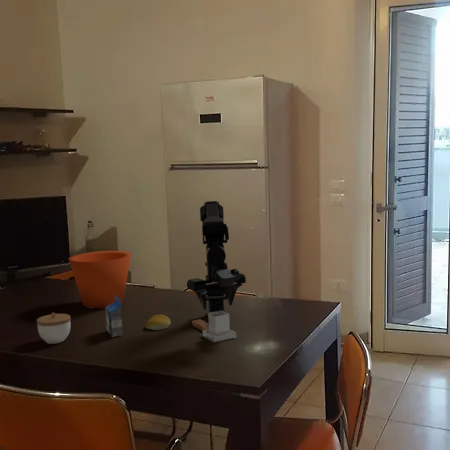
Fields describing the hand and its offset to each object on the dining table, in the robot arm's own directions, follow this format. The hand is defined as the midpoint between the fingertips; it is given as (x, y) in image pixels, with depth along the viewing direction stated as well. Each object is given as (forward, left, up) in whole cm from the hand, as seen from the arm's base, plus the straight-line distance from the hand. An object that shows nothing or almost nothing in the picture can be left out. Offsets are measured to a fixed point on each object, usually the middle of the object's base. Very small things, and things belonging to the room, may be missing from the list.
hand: (217, 307), depth 188 cm
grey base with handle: (-7, 0, -10) cm, 12 cm away
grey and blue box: (-25, -27, -10) cm, 38 cm away
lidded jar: (-29, -46, -10) cm, 55 cm away
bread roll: (-24, -12, -10) cm, 28 cm away
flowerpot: (-68, -18, -10) cm, 71 cm away
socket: (0, 0, -8) cm, 8 cm away
